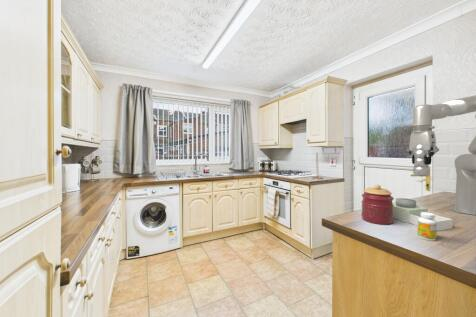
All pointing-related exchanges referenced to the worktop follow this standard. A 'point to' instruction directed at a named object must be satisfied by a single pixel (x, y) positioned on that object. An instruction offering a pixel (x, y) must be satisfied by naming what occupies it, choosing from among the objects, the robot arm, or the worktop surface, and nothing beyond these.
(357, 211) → the worktop surface
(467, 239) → the worktop surface
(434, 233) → the supplement bottle
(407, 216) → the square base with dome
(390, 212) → the canister
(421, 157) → the silver bottle
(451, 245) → the worktop surface
